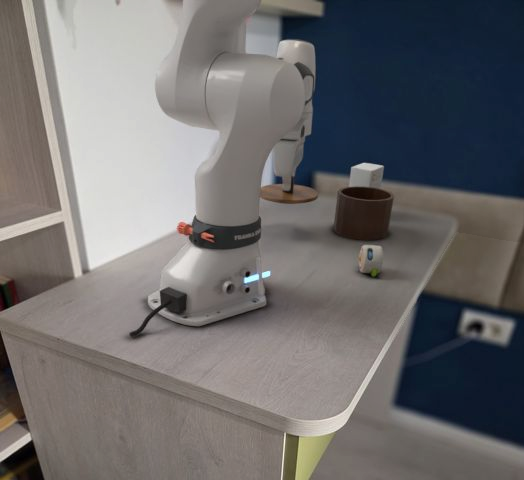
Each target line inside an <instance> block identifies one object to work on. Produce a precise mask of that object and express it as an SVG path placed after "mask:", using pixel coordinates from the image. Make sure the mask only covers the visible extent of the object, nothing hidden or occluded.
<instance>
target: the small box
mask: <svg viewBox="0 0 524 480" xmlns="http://www.w3.org/2000/svg"><path fill="white" fill-rule="evenodd" d="M384 169H385V166H384V165H381V164H376V163H370V162H362V163H359V164H356V165H354V166H351V167H350V173H349V183H348V187H353V186H364V187H373V188H379V189H382V183H383V176H384V171H385V170H384Z"/></svg>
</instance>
